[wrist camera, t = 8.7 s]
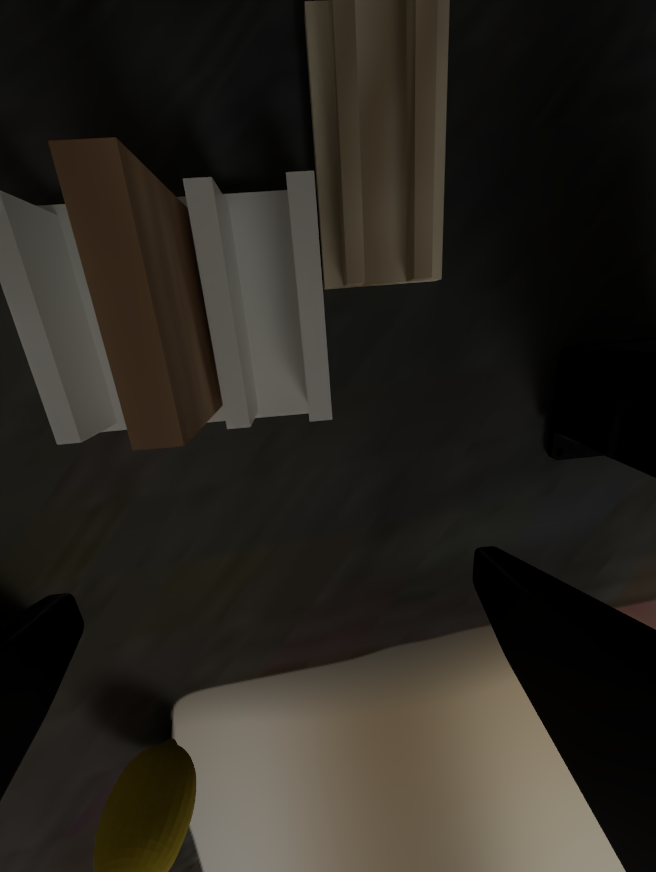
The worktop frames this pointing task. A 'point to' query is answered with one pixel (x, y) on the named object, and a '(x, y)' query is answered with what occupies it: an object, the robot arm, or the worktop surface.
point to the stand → (379, 137)
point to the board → (141, 289)
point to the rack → (223, 294)
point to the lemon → (147, 812)
